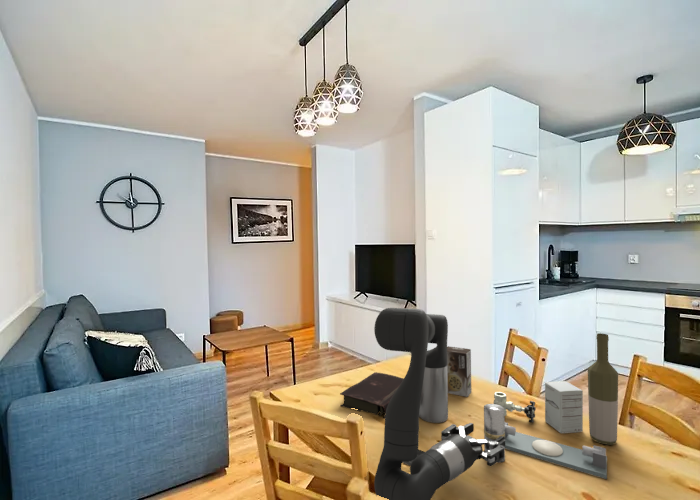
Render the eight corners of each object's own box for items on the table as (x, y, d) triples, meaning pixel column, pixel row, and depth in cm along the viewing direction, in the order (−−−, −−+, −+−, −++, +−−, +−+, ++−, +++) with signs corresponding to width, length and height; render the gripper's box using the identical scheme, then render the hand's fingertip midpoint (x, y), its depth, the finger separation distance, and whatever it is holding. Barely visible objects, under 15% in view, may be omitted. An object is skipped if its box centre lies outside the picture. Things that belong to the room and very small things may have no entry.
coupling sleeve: (481, 458, 94) (481, 409, 94) (487, 449, 98) (486, 402, 98) (502, 465, 91) (501, 414, 91) (507, 455, 95) (506, 406, 95)
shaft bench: (492, 444, 100) (492, 429, 100) (500, 430, 108) (499, 416, 107) (606, 479, 85) (606, 461, 85) (607, 460, 92) (606, 443, 92)
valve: (490, 416, 117) (531, 427, 110) (490, 396, 117) (531, 405, 109) (496, 408, 122) (535, 418, 115) (496, 389, 122) (535, 397, 115)
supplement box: (544, 421, 112) (543, 381, 112) (566, 420, 113) (566, 380, 113) (560, 434, 105) (559, 391, 105) (583, 432, 106) (583, 389, 106)
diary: (415, 393, 137) (415, 380, 137) (385, 421, 116) (385, 405, 116) (372, 382, 147) (372, 370, 147) (338, 406, 126) (337, 392, 126)
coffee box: (472, 391, 136) (471, 348, 136) (467, 397, 131) (467, 353, 130) (448, 386, 141) (447, 345, 141) (443, 392, 136) (442, 349, 135)
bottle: (609, 450, 97) (608, 339, 96) (582, 437, 103) (582, 333, 102) (624, 443, 100) (623, 335, 99) (597, 431, 106) (596, 330, 106)
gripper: (477, 455, 77) (514, 429, 87) (424, 429, 88) (462, 409, 98) (477, 490, 77) (514, 460, 87) (424, 459, 88) (463, 436, 98)
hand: (487, 433), depth 92 cm, fingers open, 8 cm apart
